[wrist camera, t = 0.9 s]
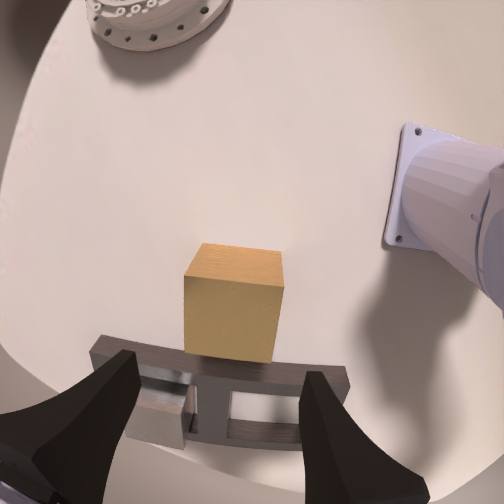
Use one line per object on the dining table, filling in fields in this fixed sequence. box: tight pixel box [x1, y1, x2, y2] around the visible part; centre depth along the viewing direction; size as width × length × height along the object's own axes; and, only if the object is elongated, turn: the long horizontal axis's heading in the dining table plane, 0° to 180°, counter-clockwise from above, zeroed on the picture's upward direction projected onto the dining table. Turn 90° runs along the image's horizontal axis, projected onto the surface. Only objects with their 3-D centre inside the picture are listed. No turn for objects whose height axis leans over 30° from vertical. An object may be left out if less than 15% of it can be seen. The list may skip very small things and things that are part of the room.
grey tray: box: [89, 335, 350, 451], centre depth 24 cm, size 20×9×2 cm, turn 84°
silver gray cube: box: [124, 375, 194, 450], centre depth 23 cm, size 5×5×5 cm
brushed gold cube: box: [184, 243, 284, 363], centre depth 19 cm, size 5×5×5 cm
